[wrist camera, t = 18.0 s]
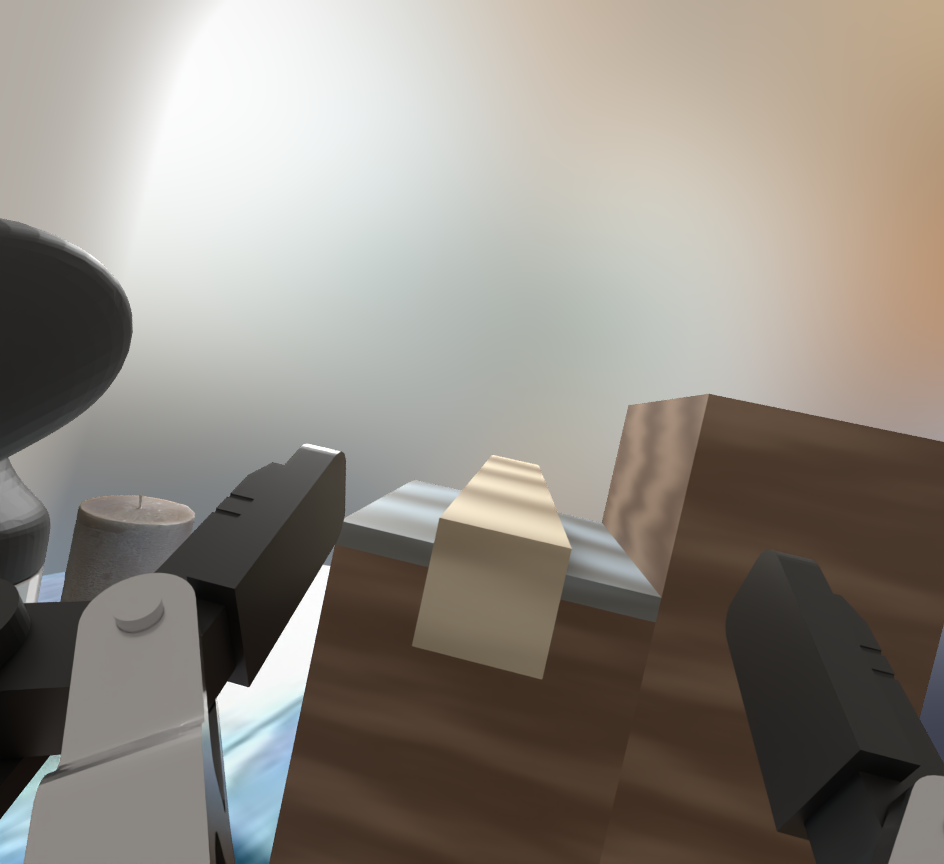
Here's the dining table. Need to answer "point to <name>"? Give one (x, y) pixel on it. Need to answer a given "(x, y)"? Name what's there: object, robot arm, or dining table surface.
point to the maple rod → (496, 571)
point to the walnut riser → (607, 654)
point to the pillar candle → (121, 541)
